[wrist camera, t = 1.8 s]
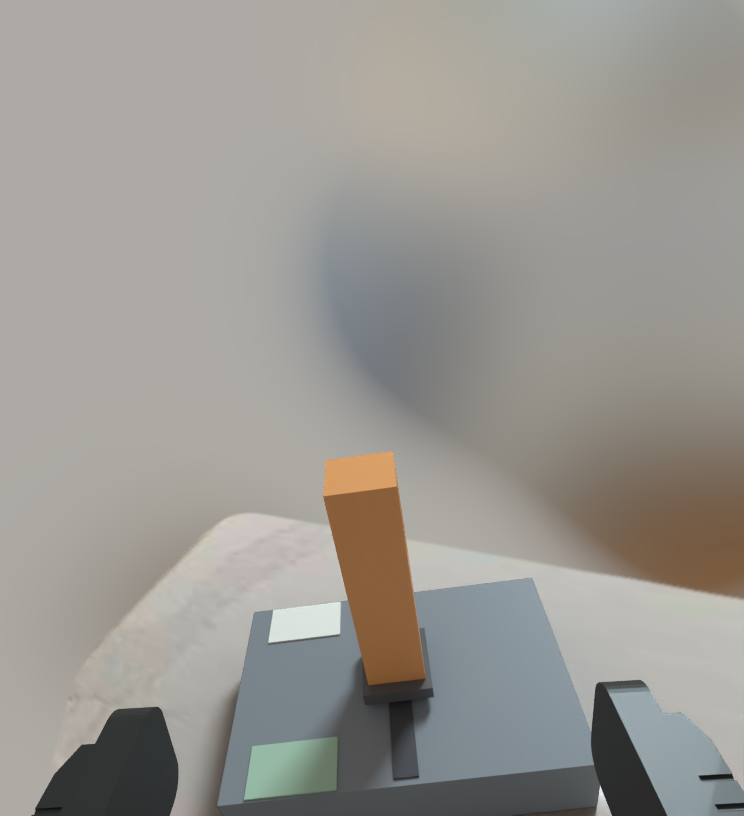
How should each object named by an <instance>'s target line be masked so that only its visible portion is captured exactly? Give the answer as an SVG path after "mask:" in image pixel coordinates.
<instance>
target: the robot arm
mask: <svg viewBox="0 0 744 816" xmlns="http://www.w3.org/2000/svg"><path fill="white" fill-rule="evenodd" d="M591 751H592V758H593V763H594V767H595V771H596V774H597V777H598V780H599V783H600V786H601V788H602V791H603V793H604V796H605V798H606V801H607V804H608V806H609V809H610V811H611V814H612V816H744V791H743V790H742V788H741V787H740V785H739V783H738V782H737V781H735V780H734V778H733V776H732V772H731V771H730V769H729V767H728V766H727V764H726V763H725V761H724V760H723V758H722V756H721V755H720V753H719V752H718V750H717V748H716V747H715V745H714V744H713V742H712V740H711V739H710V738H709V737H707V736H706V735H705V734H704V733H703V732H702V731H701V730H700V729H699V728H698V727H697V726H695V725H694V724H693V723H692V722H691V721H690V720H689V719H688V718H687V717H686V716H685V715H683V714H682V713H681V712H680V713H662V711H661V709H660V707H659V706H658V704H657V702H656V700H655V699H654V697H653V695H652V693H651V692H650V690H649V688H648V687H647V686H646V684H645V683H644V682H643V681H641V680H632V681H615V682H599V683H597V685H596V689H595V699H594V710H593V721H592V732H591ZM177 786H178V762H177V758H176V755H175V752H174V749H173V745H172V742H171V739H170V735H169V732H168V729H167V726H166V722H165V719H164V716H163V713H162V711H161V709H160V708H159V707H146V708H129V709H118V710H116V711H114V712H113V713H112V714H111V715H110V717H109V718H108V720H107V722H106V724H105V726H104V728H103V730H102V732H101V734H100V736H99V737H98V739H97V741H96V743H95V744H87V745H81V746H80V747H79V748H78V749H77V751H76V752H75V753H74V754H73V755H72V756H71V757H70V758H69V759H68V760H67V761H66V762H65V763H64V765H63V766H62V767H61V768H60V769H59V770H58V771H57V772H56V773H55V774H54V776H53V778H52V780H51V781H50V783H49V785H48V787H47V788H46V790H45V792H44V794H43V796H42V798H41V799H40V801H39V803H38V805H37V806H36V808H35V809H36V811H35V814H34V815H32V816H170V813H171V810H172V807H173V804H174V800H175V797H176V792H177Z"/></svg>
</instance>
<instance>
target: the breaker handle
mask: <svg viewBox="0 0 744 816" xmlns="http://www.w3.org/2000/svg"><path fill="white" fill-rule="evenodd" d="M323 497H324V501H325V506H326V510H327V513H328V518H329V522H330V526H331V531H332V535H333V539H334V543H335V547H336V552H337V556H338V560H339V564H340V568H341V573H342V577H343V581H344V585H345V589H346V593H347V598H348V602H349V606H350V610H351V614H352V619H353V623H354V627H355V631H356V635H357V639H358V644H359V648H360V652H361V656H362V672H363V698H364V702H365V705H372V704H380V703H389V702H397V701H406V700H415V699H423V698H432V697H434V693H433V686H432V678H431V671H430V664H429V657H428V650H427V642H426V635H425V628H419V625H418V618H417V611H416V604H415V598H414V591H413V584H412V577H411V570H410V564H409V557H408V550H407V543H406V537H405V530H404V524H403V516H402V509H401V503H400V496H399V489H398V483H397V476H396V469H395V462H394V455H393V451H391V452H384V453H376V454H369V455H361V456H354V457H347V458H339V459H332V460H326V466H325V480H324V494H323Z"/></svg>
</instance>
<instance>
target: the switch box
mask: <svg viewBox="0 0 744 816" xmlns="http://www.w3.org/2000/svg"><path fill="white" fill-rule="evenodd" d="M414 598H415V604H416V611H417V618H418V625H419V628H425V635H426V642H427V650H428V657H429V664H430V671H431V678H432V686H433V693H434V697H432V698H423V699H415V700H406V701H397V702H389V703H380V704H372V705H365V702H364V698H363V672H362V656H361V652H360V648H359V644H358V639H357V635H356V631H355V627H354V623H353V619H352V614H351V610H350V606H349V602H348V601H341V602H333V603H325V604H317V605H309V606H301V607H293V608H285V609H277V610H268V611H260V612H254V615H253V621H252V626H251V631H250V636H249V642H248V647H247V652H246V657H245V662H244V668H243V673H242V678H241V683H240V689H239V694H238V699H237V704H236V709H235V715H234V720H233V725H232V730H231V735H230V741H229V746H228V751H227V756H226V762H225V767H224V772H223V777H222V782H221V788H220V793H219V798H218V803H217V807H218V809H219V811H220V812H221V814H222V816H513V815H523V814H532V813H542V812H551V811H560V810H570V809H579V808H588V807H597V802H598V795H599V788H600V783H599V780H598V777H597V774H596V771H595V767H594V763H593V758H592V751H591V731H590V729H589V726H588V723H587V721H586V718H585V715H584V713H583V710H582V708H581V705H580V702H579V700H578V697H577V694H576V692H575V689H574V686H573V684H572V681H571V679H570V676H569V673H568V671H567V668H566V665H565V663H564V660H563V658H562V655H561V652H560V650H559V647H558V644H557V642H556V639H555V637H554V634H553V631H552V629H551V626H550V623H549V621H548V618H547V615H546V613H545V610H544V608H543V605H542V602H541V600H540V597H539V594H538V592H537V589H536V587H535V584H534V581H533V579H532V578H525V579H517V580H509V581H501V582H493V583H485V584H477V585H469V586H461V587H453V588H445V589H437V590H429V591H421V592H414Z"/></svg>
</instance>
